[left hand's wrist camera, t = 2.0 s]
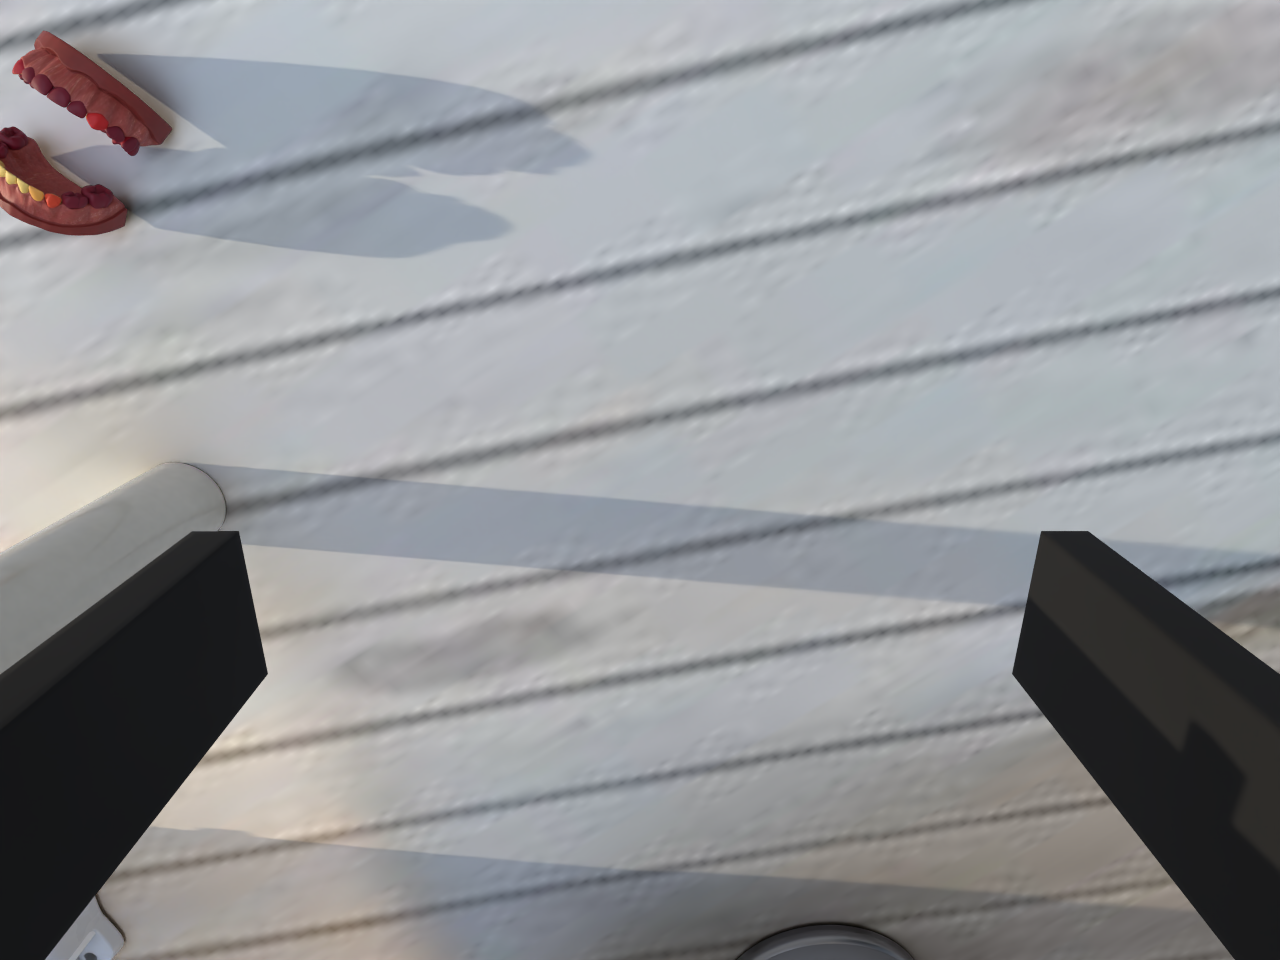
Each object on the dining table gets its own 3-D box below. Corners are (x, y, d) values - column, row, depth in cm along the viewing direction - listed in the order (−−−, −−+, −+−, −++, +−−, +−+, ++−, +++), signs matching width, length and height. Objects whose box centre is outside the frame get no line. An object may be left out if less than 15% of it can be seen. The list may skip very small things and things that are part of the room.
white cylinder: (121, 486, 42) (-289, 716, 23) (187, 447, 41) (-184, 652, 23) (179, 554, 43) (-165, 821, 25) (244, 517, 43) (-62, 764, 24)
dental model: (-71, 175, 32) (-1, 1, 30) (3, 176, 36) (70, 22, 34) (59, 257, 34) (135, 96, 31) (117, 249, 37) (188, 106, 35)
